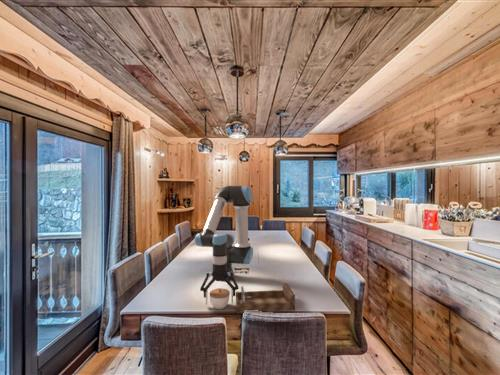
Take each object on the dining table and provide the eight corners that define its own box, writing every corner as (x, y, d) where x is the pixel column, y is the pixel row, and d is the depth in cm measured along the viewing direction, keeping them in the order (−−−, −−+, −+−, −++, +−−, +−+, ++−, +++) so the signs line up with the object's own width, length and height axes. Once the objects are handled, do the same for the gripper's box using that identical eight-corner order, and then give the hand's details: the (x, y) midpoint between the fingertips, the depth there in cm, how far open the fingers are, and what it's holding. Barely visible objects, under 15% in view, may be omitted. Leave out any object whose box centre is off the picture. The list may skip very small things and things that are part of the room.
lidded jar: (230, 301, 144) (230, 285, 144) (229, 311, 134) (229, 293, 134) (210, 302, 144) (210, 285, 144) (208, 311, 133) (208, 293, 133)
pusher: (242, 309, 134) (243, 296, 134) (241, 298, 147) (241, 286, 147) (252, 308, 134) (252, 295, 134) (249, 298, 147) (249, 286, 147)
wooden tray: (237, 313, 132) (237, 297, 132) (235, 299, 148) (235, 285, 148) (294, 310, 135) (294, 294, 135) (287, 296, 151) (287, 283, 151)
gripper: (195, 265, 134) (195, 307, 134) (243, 264, 136) (243, 304, 136) (196, 261, 141) (196, 300, 141) (242, 260, 144) (242, 298, 144)
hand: (219, 302), depth 139 cm, fingers open, 13 cm apart
